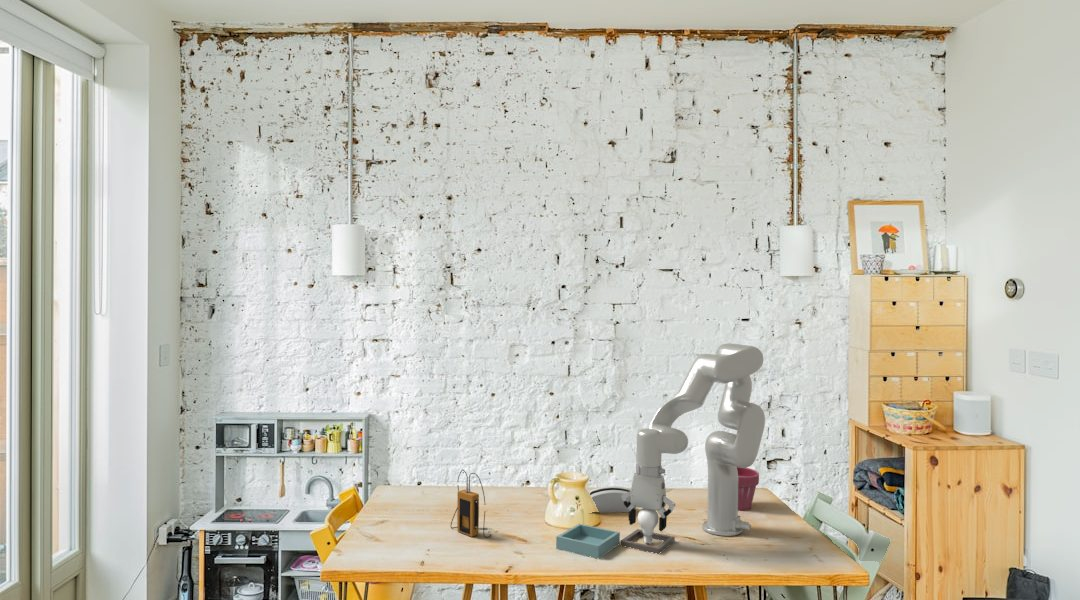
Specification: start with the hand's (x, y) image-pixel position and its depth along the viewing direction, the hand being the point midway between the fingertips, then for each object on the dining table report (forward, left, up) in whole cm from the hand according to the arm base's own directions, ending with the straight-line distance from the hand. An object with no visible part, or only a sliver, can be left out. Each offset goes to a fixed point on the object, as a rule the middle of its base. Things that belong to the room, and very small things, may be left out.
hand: (647, 526), depth 215 cm
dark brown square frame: (0, 0, -5) cm, 5 cm away
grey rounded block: (+23, -22, -6) cm, 33 cm away
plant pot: (-12, -52, -6) cm, 54 cm away
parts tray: (+14, +12, -5) cm, 19 cm away
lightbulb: (0, 0, -5) cm, 5 cm away
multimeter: (+50, +20, -6) cm, 54 cm away
